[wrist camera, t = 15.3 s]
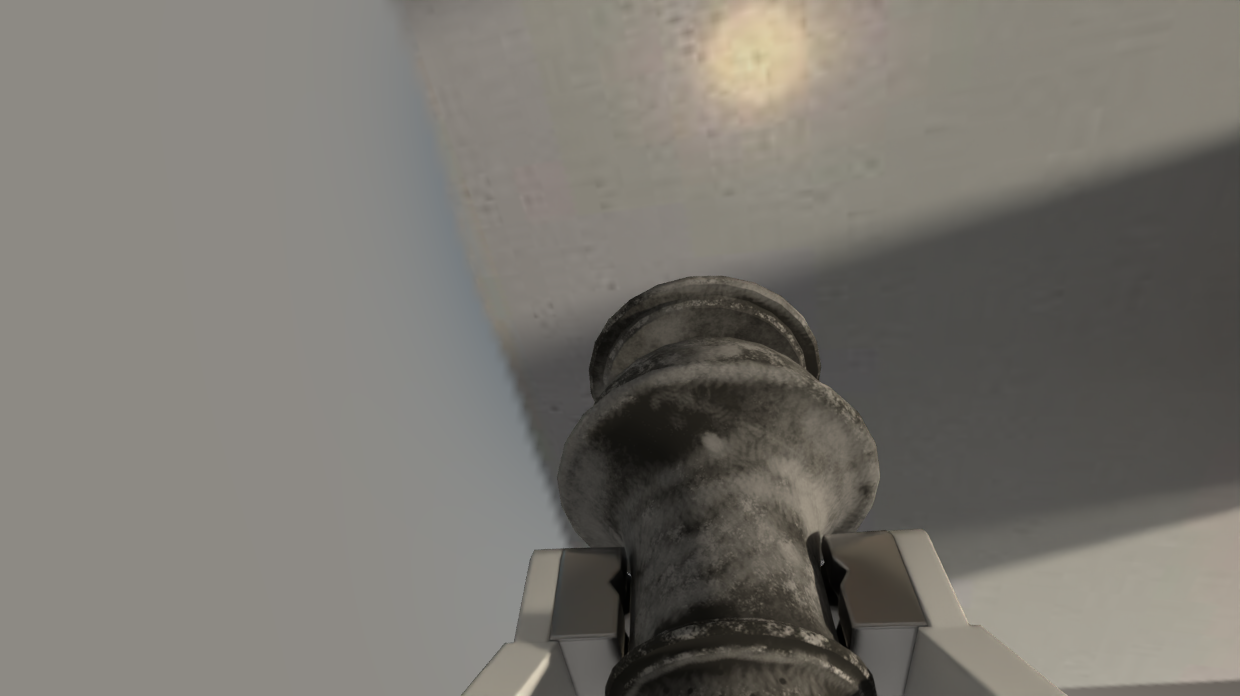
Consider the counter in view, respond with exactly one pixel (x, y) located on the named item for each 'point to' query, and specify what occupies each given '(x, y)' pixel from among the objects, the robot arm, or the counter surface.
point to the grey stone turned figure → (720, 491)
